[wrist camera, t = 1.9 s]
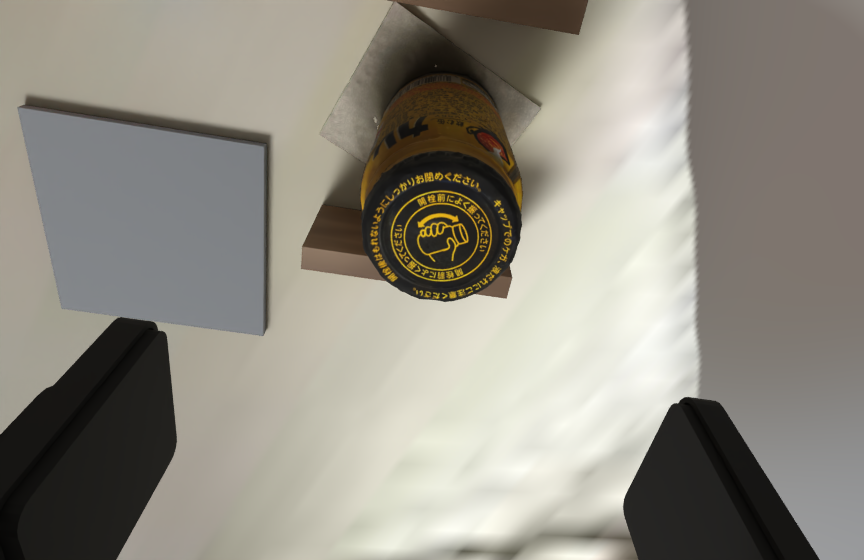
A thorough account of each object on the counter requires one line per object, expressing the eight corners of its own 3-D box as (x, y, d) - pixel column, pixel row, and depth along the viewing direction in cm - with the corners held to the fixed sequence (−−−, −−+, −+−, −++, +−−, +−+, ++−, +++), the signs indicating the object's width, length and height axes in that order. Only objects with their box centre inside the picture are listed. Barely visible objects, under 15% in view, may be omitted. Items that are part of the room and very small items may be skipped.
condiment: (455, 219, 30) (463, 355, 20) (319, 133, 28) (248, 237, 18) (540, 107, 27) (602, 200, 17) (395, 0, 25) (362, 31, 14)
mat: (23, 105, 27) (17, 107, 27) (266, 143, 28) (264, 146, 28) (66, 304, 33) (61, 308, 33) (265, 331, 34) (263, 336, 34)
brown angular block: (338, -50, 24) (315, -51, 19) (562, -8, 24) (588, 0, 20) (320, 224, 30) (301, 268, 26) (497, 251, 31) (506, 298, 27)
